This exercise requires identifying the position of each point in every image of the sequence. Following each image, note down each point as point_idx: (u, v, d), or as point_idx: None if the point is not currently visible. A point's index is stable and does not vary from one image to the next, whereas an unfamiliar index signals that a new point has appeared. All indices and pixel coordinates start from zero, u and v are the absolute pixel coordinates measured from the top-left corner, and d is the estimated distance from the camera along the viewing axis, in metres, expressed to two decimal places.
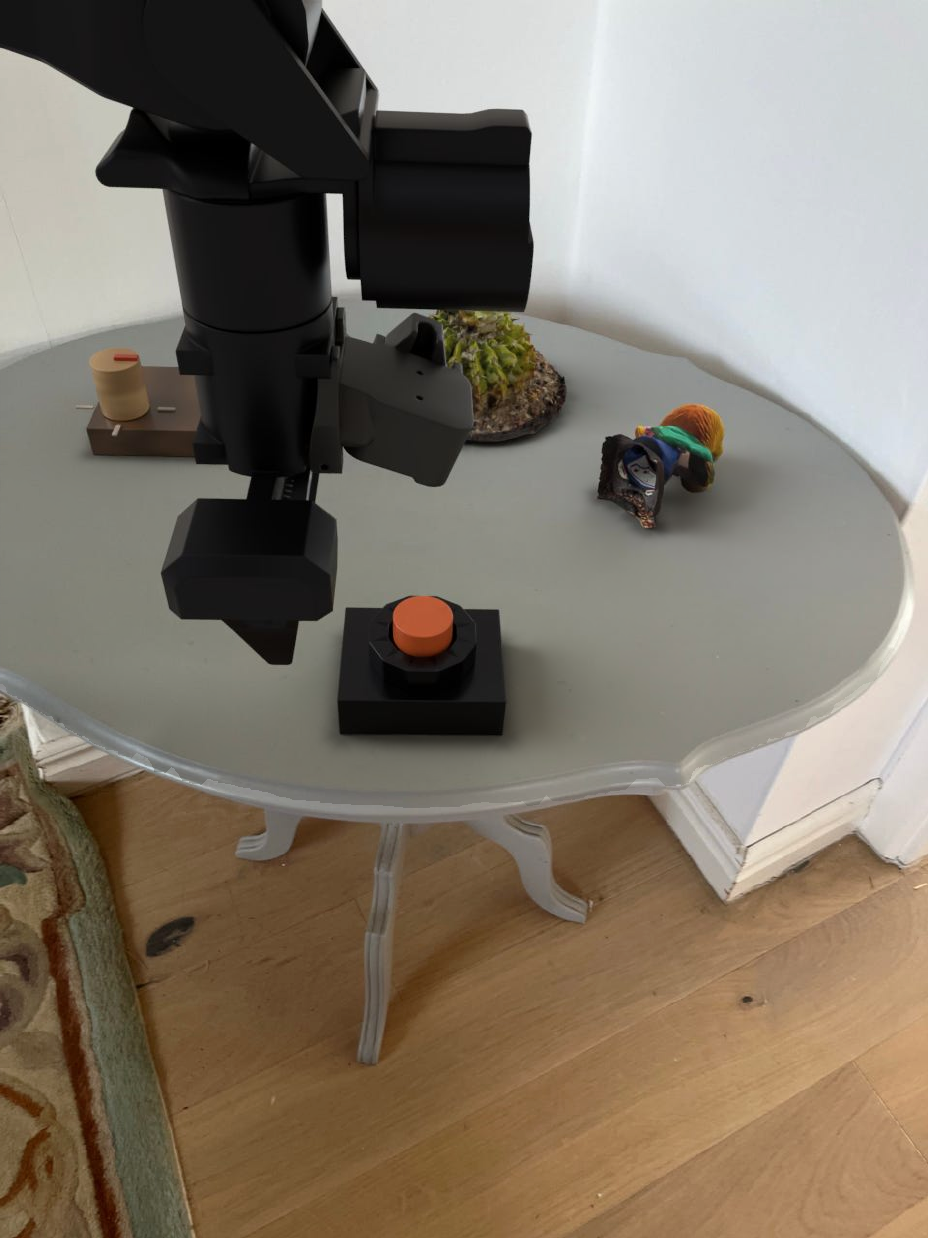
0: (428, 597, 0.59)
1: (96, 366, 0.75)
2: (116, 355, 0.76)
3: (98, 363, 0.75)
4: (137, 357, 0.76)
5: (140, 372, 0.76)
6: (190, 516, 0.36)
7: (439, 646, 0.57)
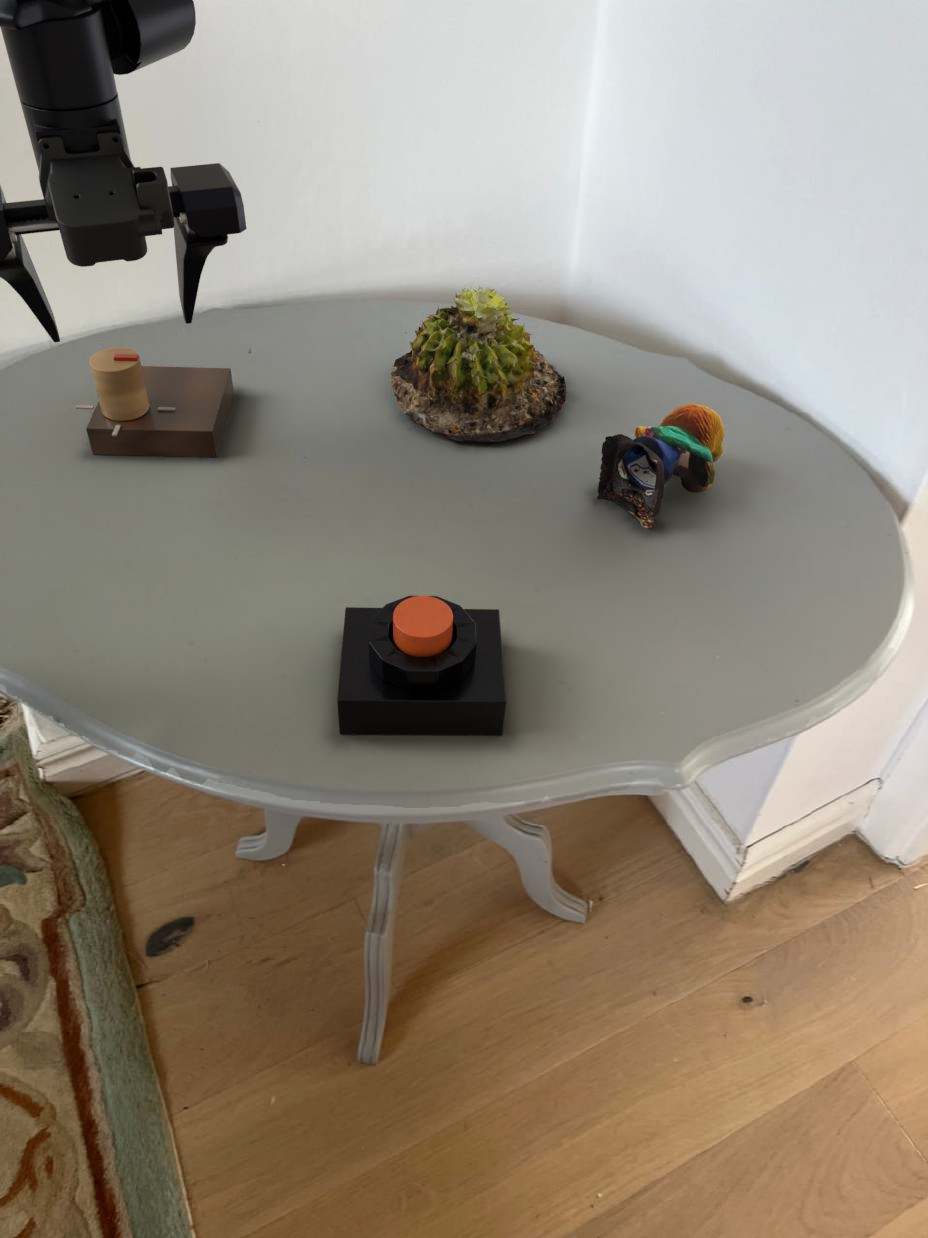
0: (428, 597, 0.59)
1: (96, 366, 0.75)
2: (116, 355, 0.76)
3: (98, 363, 0.75)
4: (137, 357, 0.76)
5: (140, 372, 0.76)
6: None
7: (439, 646, 0.57)
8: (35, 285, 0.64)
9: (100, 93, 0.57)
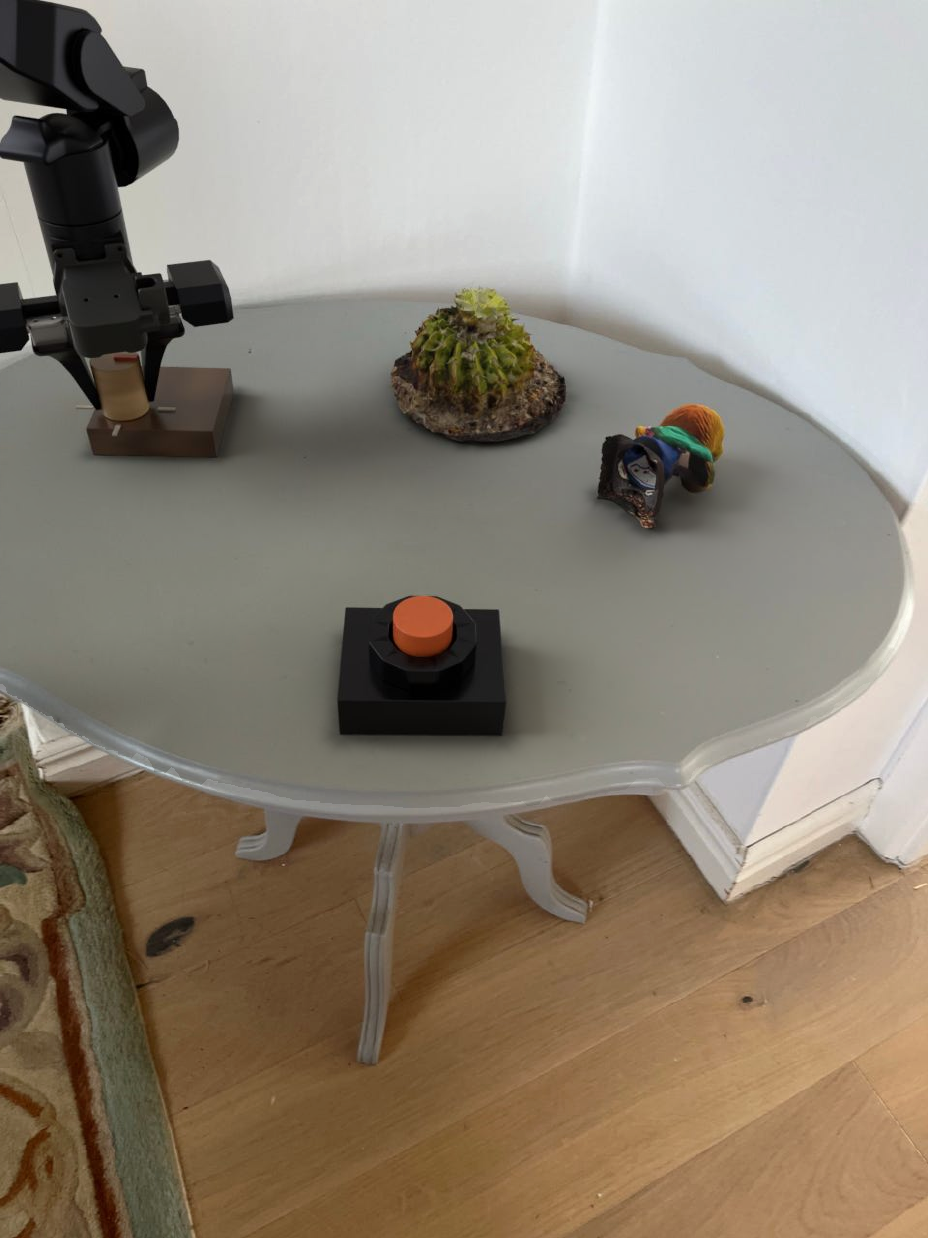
0: (428, 597, 0.59)
1: (96, 366, 0.75)
2: (116, 355, 0.76)
3: (98, 363, 0.75)
4: (137, 357, 0.76)
5: (140, 372, 0.76)
6: (3, 284, 0.71)
7: (439, 646, 0.57)
8: (82, 363, 0.74)
9: (110, 209, 0.66)
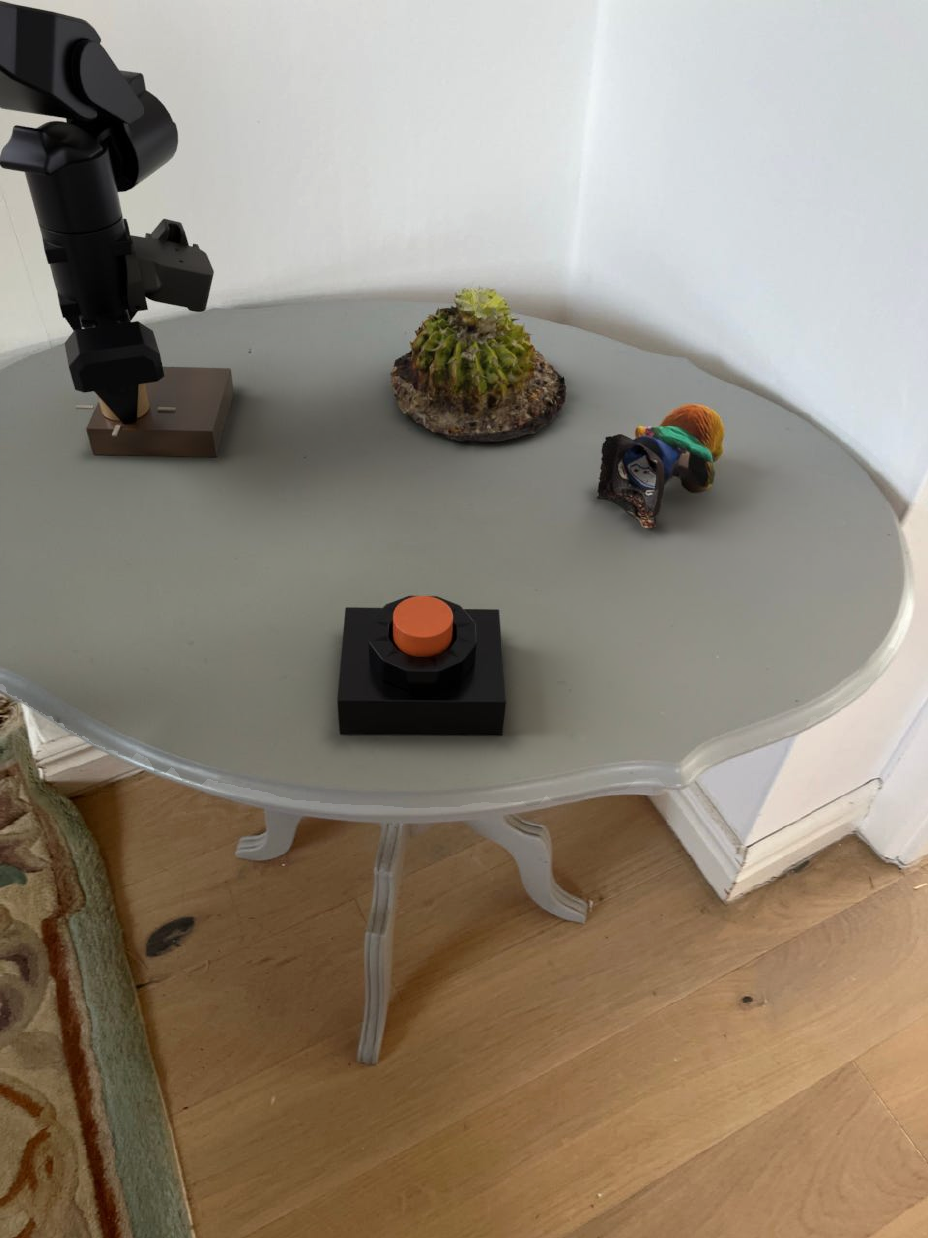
0: (428, 597, 0.59)
1: None
2: None
3: None
4: None
5: None
6: (74, 338, 0.67)
7: (439, 646, 0.57)
8: None
9: (111, 216, 0.67)
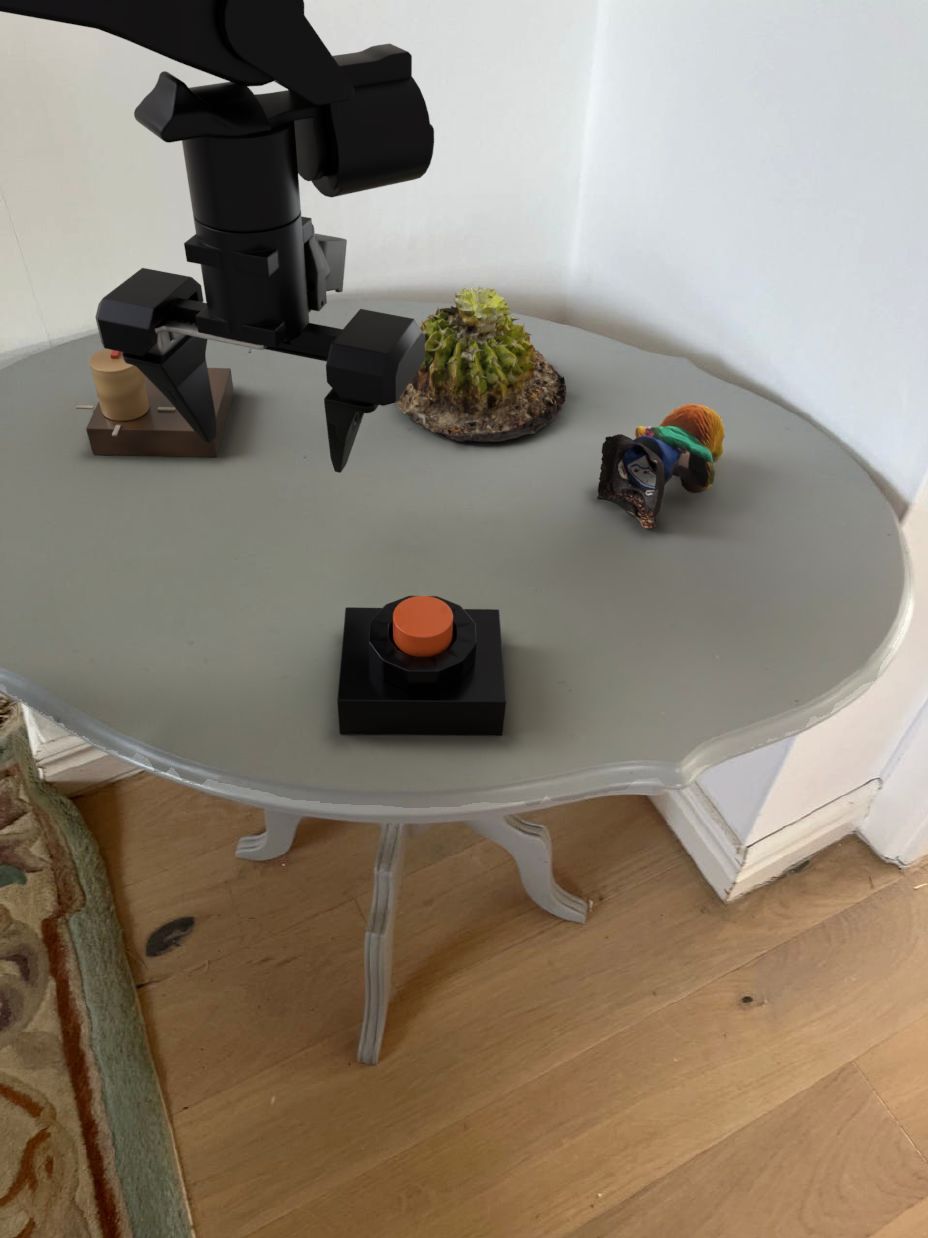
0: (428, 597, 0.59)
1: (128, 365, 0.75)
2: (113, 354, 0.76)
3: (121, 365, 0.75)
4: None
5: None
6: (347, 348, 0.53)
7: (439, 646, 0.57)
8: None
9: (263, 219, 0.49)
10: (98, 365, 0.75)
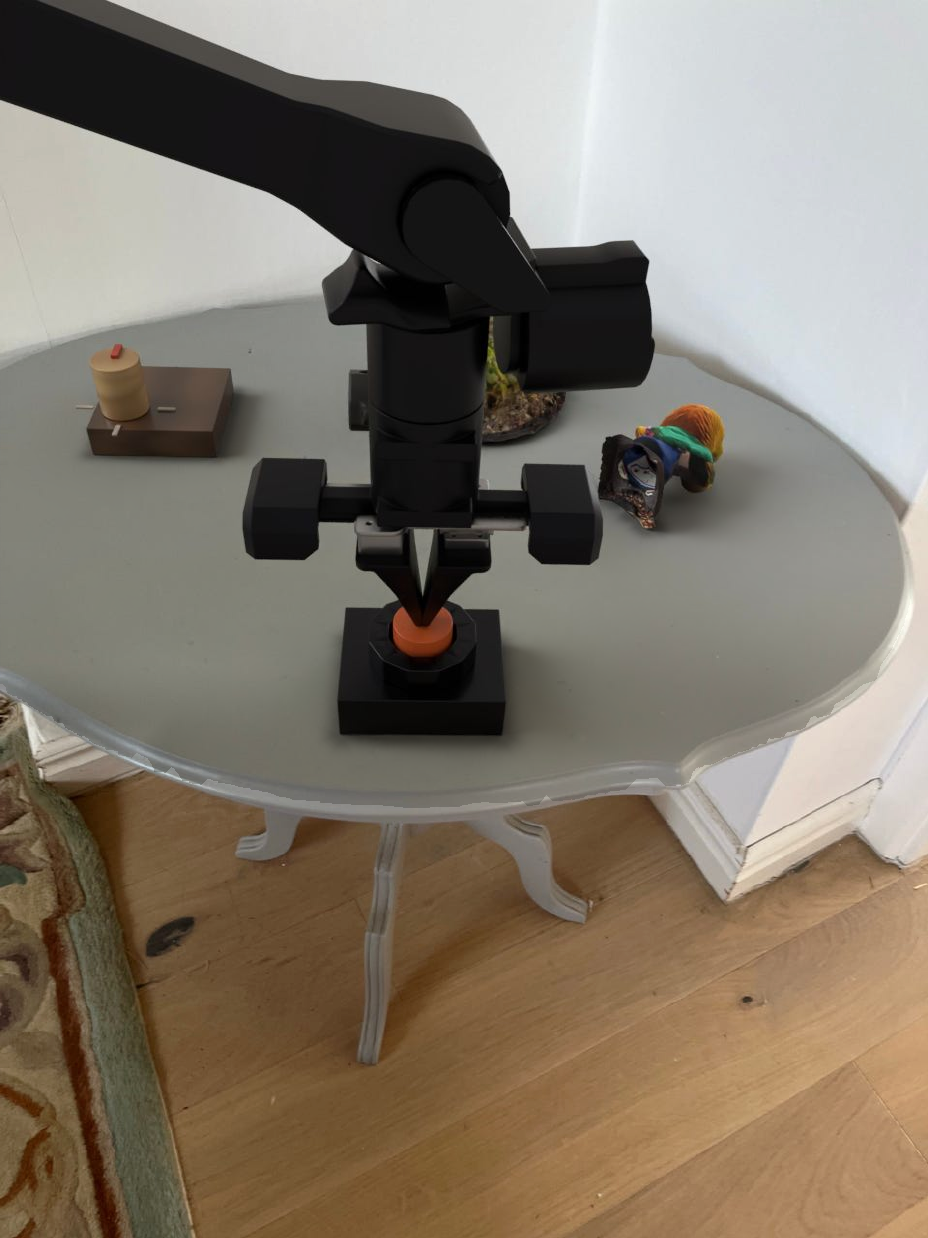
0: None
1: (128, 365, 0.75)
2: (113, 354, 0.76)
3: (121, 365, 0.75)
4: None
5: None
6: (549, 516, 0.49)
7: (439, 652, 0.57)
8: (432, 546, 0.55)
9: (427, 413, 0.44)
10: (98, 365, 0.75)
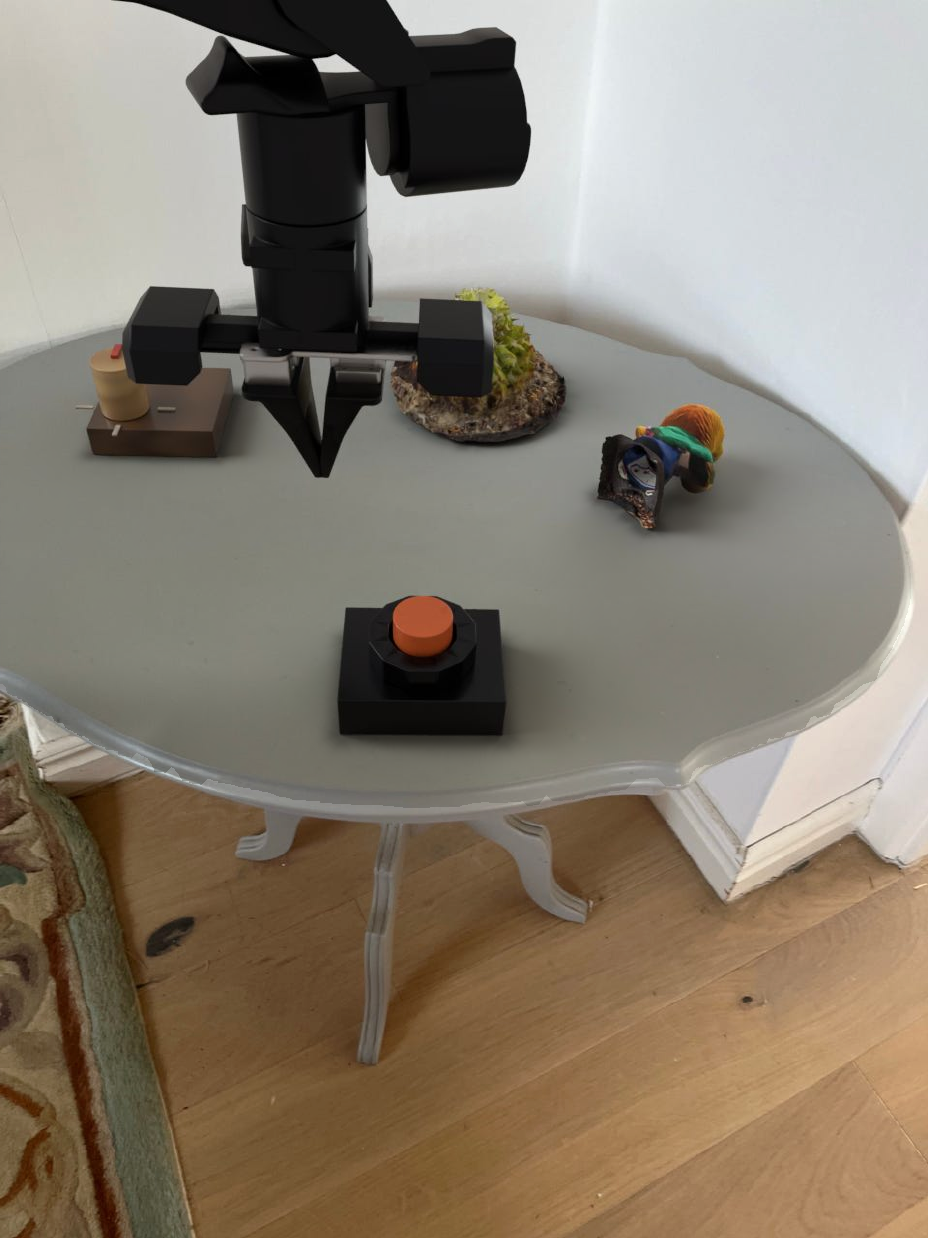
0: (428, 597, 0.59)
1: None
2: (113, 354, 0.76)
3: (121, 365, 0.75)
4: None
5: None
6: (437, 341, 0.48)
7: (439, 646, 0.57)
8: None
9: (314, 213, 0.43)
10: (98, 365, 0.75)
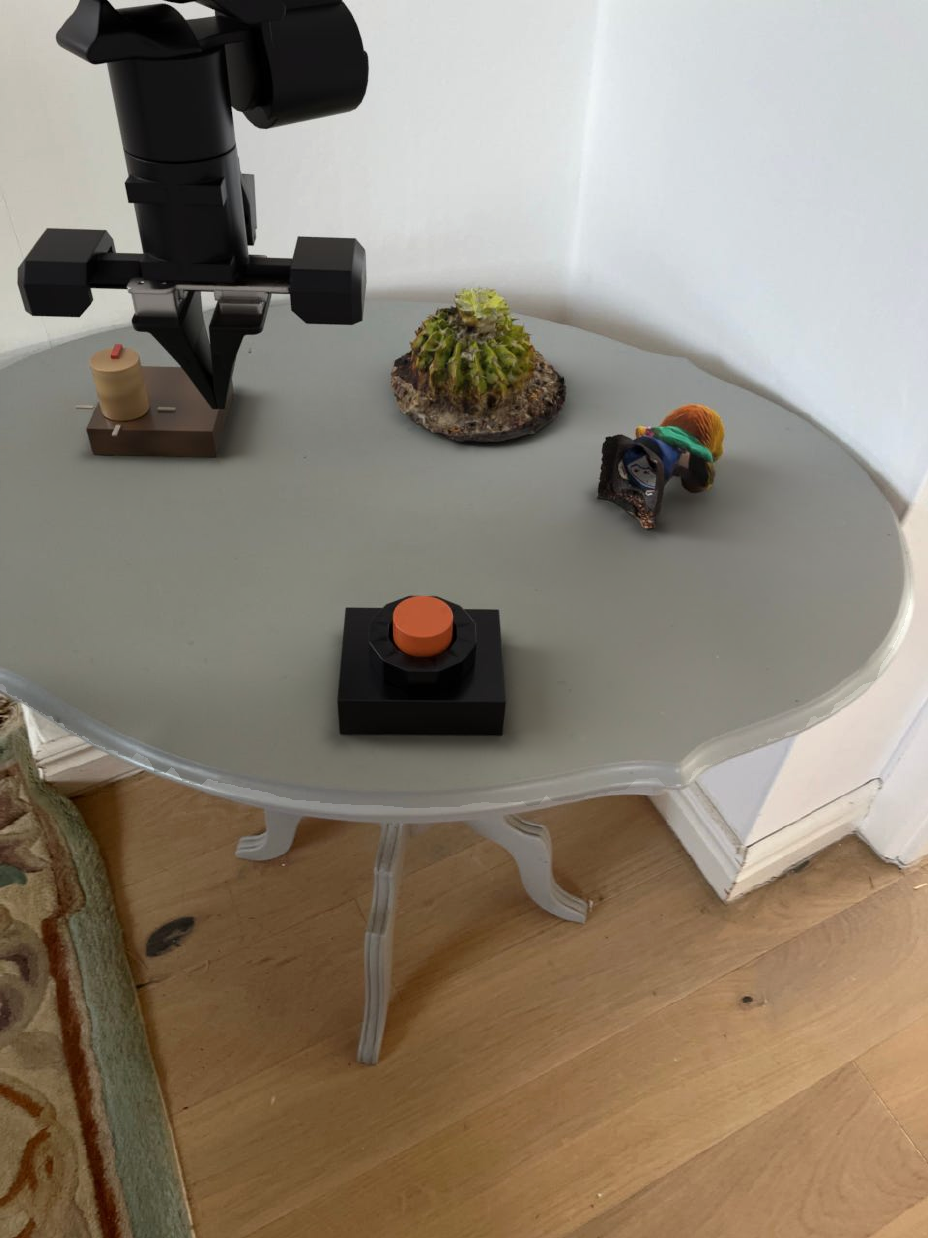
0: (428, 597, 0.59)
1: (128, 365, 0.75)
2: (113, 354, 0.76)
3: (121, 365, 0.75)
4: None
5: None
6: (308, 272, 0.52)
7: (439, 646, 0.57)
8: None
9: (198, 148, 0.48)
10: (98, 365, 0.75)
